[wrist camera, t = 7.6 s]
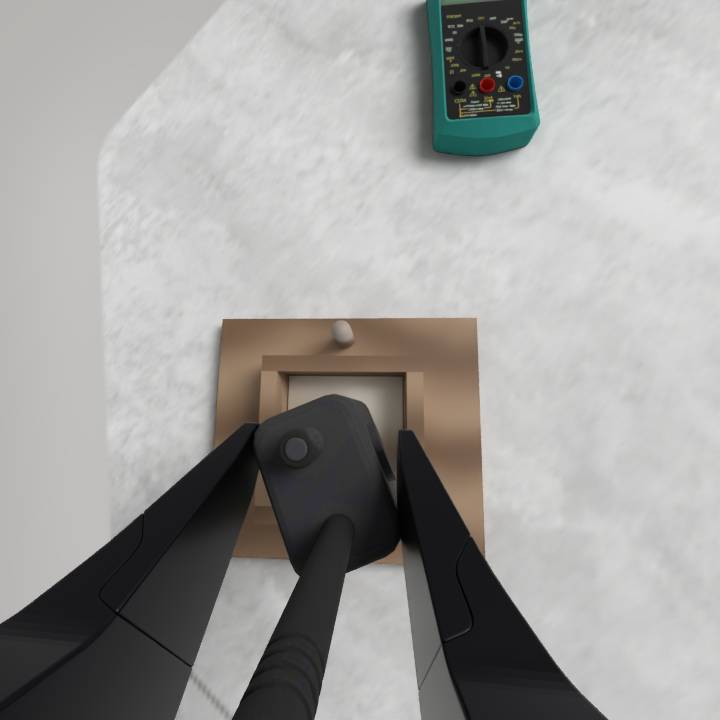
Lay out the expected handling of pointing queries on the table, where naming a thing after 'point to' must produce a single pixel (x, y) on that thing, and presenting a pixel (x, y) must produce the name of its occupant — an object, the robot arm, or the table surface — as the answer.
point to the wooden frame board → (359, 398)
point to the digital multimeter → (481, 76)
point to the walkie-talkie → (318, 538)
